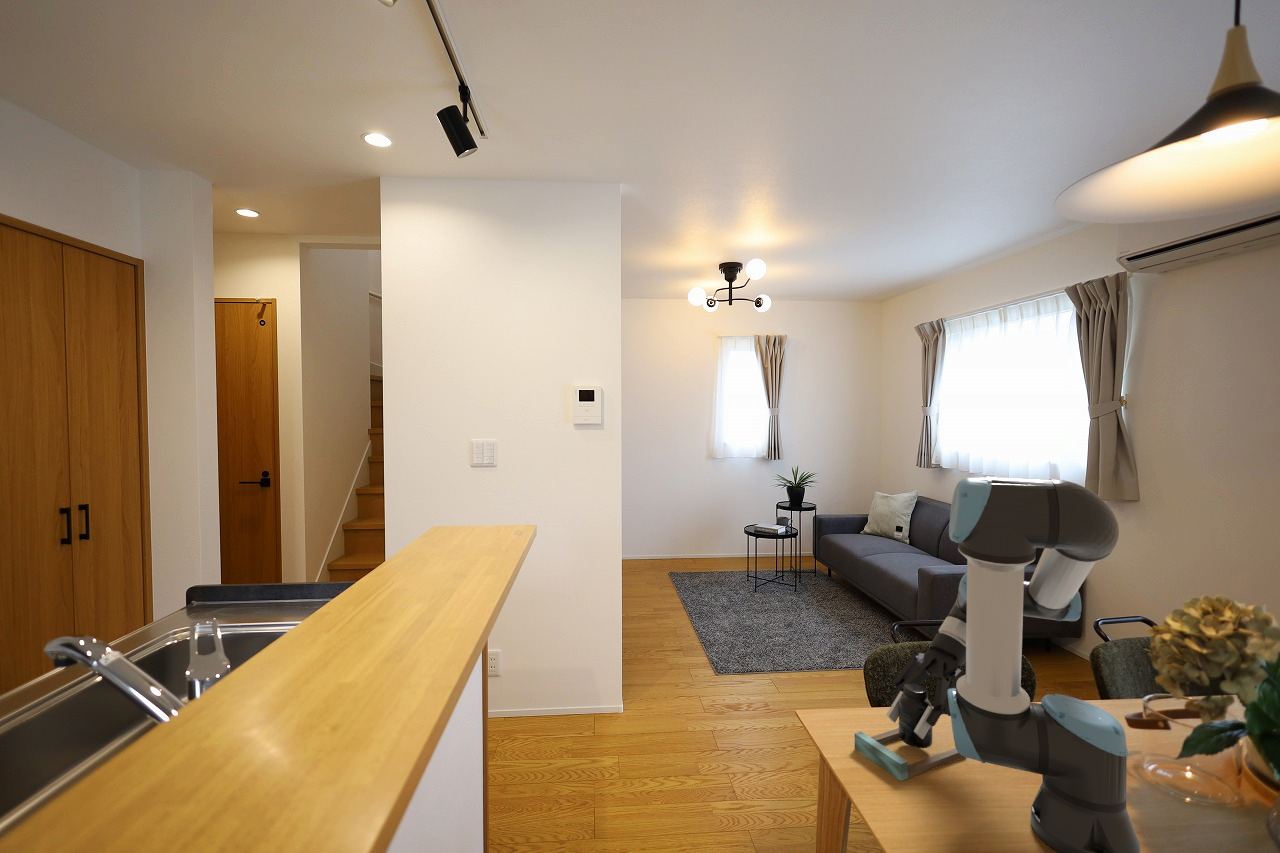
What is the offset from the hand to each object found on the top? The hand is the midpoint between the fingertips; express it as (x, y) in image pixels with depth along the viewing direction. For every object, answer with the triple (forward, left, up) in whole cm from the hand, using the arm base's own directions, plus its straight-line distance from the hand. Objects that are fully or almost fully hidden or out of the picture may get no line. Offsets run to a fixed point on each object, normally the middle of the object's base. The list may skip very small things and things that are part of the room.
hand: (904, 726), depth 124 cm
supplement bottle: (0, -4, -4) cm, 6 cm away
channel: (0, -2, -6) cm, 6 cm away
